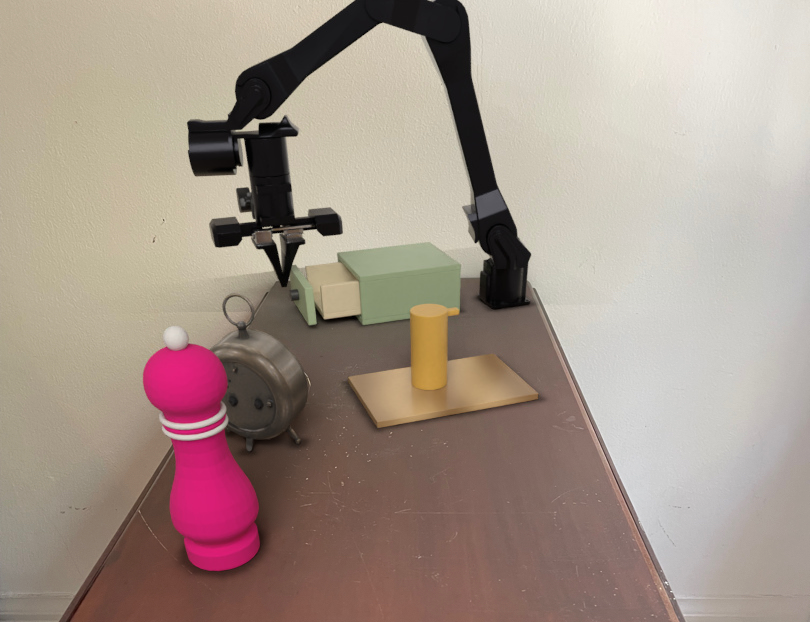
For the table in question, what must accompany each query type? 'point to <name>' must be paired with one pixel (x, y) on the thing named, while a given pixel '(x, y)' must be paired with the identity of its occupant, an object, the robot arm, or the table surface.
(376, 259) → the cabinet
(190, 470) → the pepper mill
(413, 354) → the yellow cylinder
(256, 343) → the alarm clock
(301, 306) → the drawer
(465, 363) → the board
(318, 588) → the table surface
